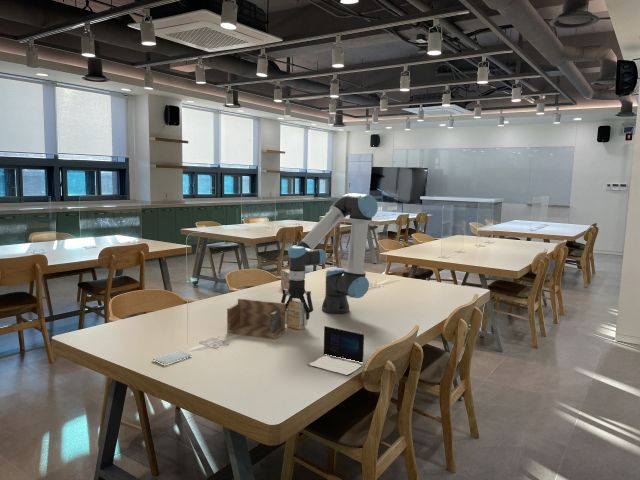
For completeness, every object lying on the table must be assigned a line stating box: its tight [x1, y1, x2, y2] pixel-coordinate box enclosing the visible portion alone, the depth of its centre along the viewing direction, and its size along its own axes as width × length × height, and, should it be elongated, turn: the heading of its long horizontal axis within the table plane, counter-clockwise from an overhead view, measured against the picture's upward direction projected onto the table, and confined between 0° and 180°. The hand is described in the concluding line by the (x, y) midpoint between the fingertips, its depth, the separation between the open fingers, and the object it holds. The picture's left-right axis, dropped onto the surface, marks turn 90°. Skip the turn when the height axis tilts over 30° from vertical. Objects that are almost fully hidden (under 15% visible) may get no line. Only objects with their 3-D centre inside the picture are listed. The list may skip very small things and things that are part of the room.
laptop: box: [323, 325, 365, 363], centre depth 183 cm, size 18×12×13 cm
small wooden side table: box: [226, 298, 287, 340], centre depth 221 cm, size 24×12×14 cm, turn 73°
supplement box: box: [286, 298, 307, 331], centre depth 229 cm, size 8×5×13 cm, turn 52°
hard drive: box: [152, 350, 192, 364], centre depth 186 cm, size 2×8×12 cm
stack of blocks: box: [280, 268, 290, 290], centre depth 304 cm, size 21×6×12 cm, turn 25°
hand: (296, 324), depth 229 cm, fingers closed on supplement box, 9 cm apart
